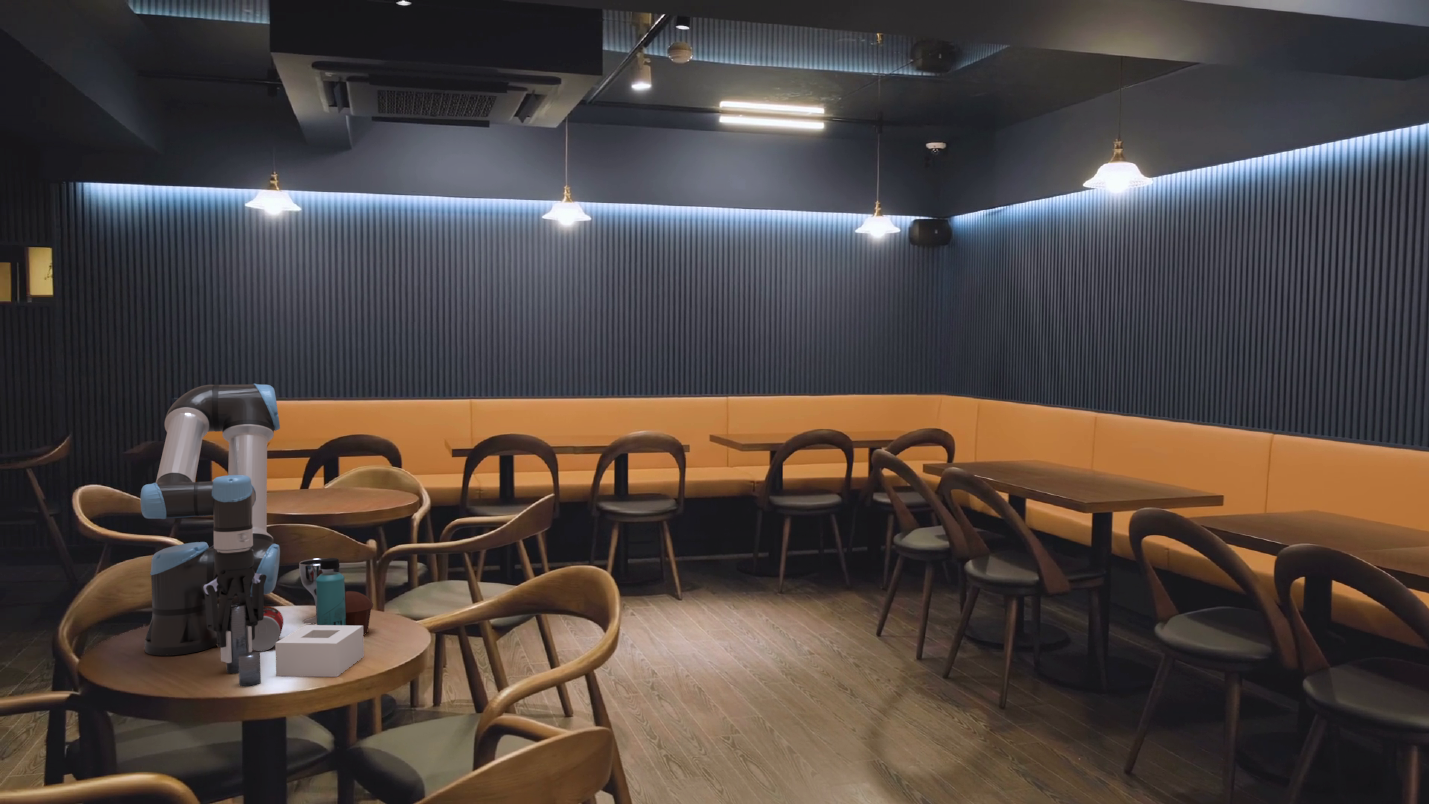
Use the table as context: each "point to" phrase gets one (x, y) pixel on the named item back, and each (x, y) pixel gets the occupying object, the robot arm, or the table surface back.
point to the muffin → (357, 609)
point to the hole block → (319, 650)
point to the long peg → (237, 635)
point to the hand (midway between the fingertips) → (236, 658)
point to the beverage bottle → (330, 595)
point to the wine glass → (311, 579)
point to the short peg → (249, 669)
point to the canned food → (268, 629)
